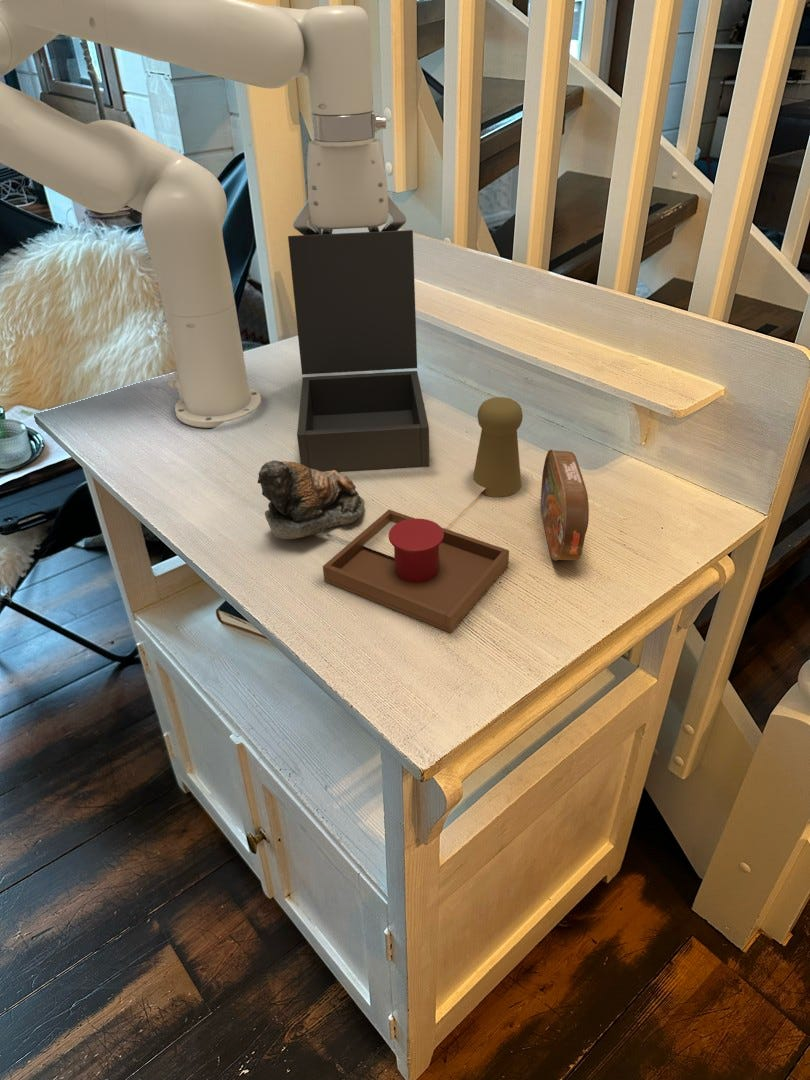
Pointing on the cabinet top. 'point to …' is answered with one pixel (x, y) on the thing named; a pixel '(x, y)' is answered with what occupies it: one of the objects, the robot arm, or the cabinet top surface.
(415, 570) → the coffee pod
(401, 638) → the cabinet top surface
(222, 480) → the cabinet top surface
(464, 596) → the tray
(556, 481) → the tin
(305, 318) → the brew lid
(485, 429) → the olive pawn piece
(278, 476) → the bison figurine
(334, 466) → the pod bay
